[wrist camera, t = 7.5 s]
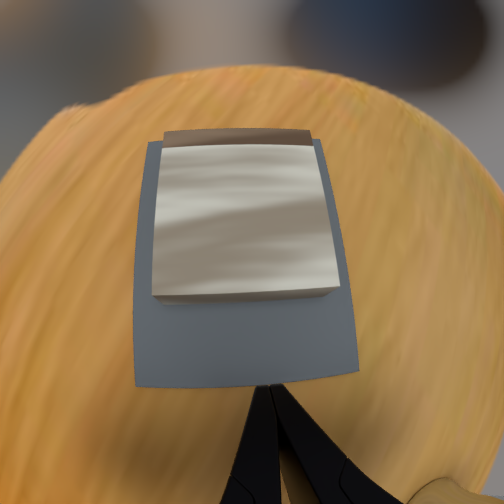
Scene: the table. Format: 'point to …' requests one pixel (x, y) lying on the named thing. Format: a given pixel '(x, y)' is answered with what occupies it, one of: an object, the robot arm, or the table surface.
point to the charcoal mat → (237, 320)
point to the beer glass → (451, 494)
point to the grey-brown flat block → (241, 218)
